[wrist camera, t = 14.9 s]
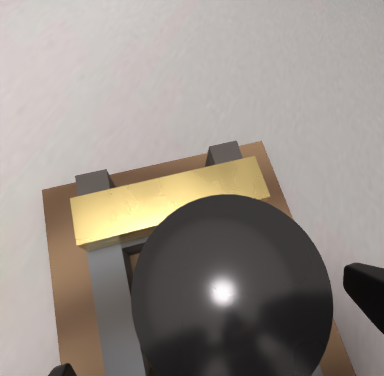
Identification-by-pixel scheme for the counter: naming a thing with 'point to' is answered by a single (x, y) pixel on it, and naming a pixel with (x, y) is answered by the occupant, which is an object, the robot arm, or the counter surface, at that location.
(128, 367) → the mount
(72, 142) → the counter surface
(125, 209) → the bar
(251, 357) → the metal canister
